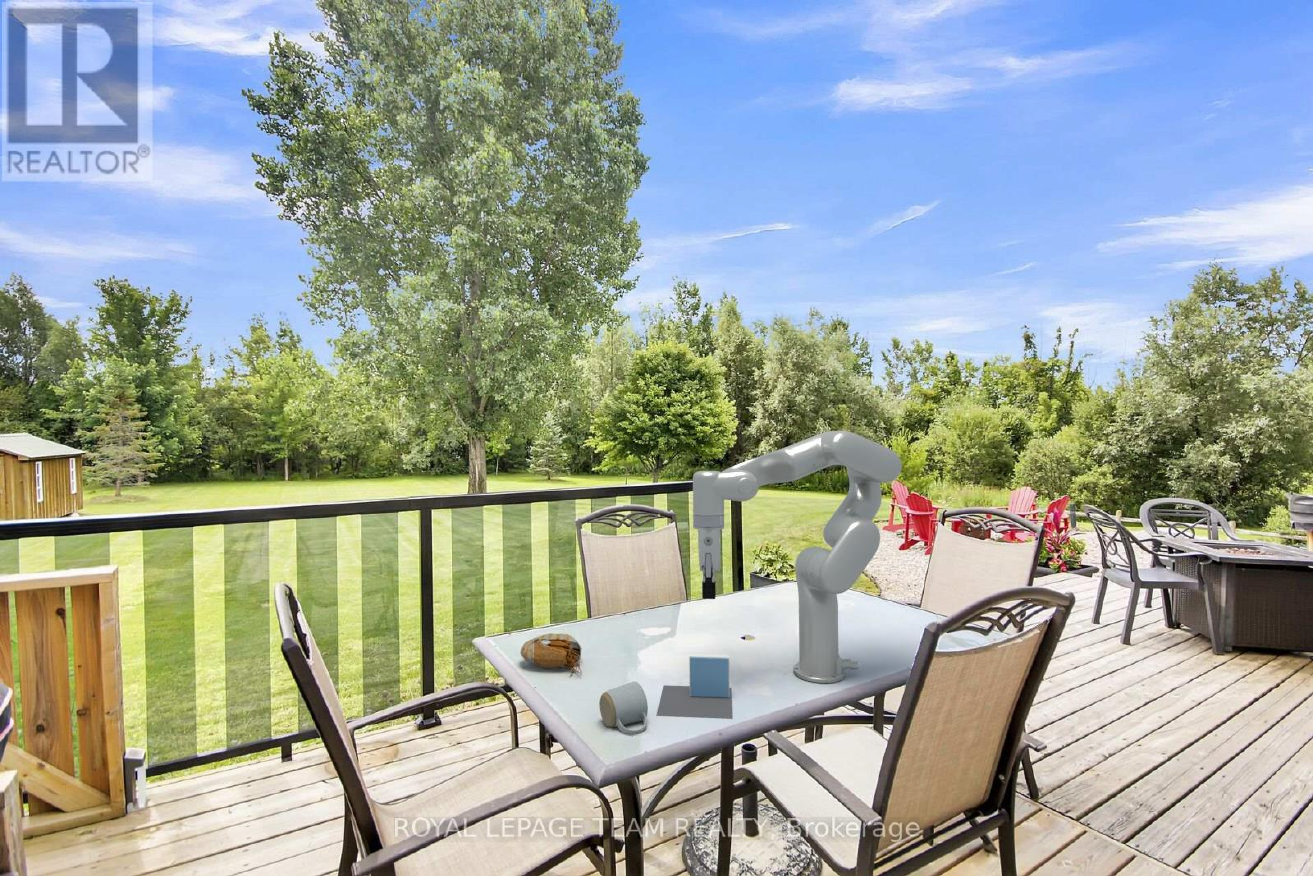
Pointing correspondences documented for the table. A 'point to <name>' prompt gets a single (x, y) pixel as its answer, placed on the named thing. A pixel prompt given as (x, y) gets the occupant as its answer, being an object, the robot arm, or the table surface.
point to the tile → (709, 675)
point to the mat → (693, 704)
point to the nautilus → (553, 651)
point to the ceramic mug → (624, 707)
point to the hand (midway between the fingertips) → (708, 598)
